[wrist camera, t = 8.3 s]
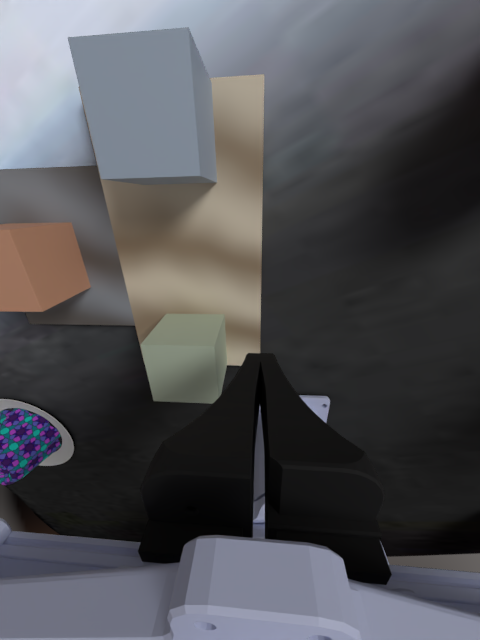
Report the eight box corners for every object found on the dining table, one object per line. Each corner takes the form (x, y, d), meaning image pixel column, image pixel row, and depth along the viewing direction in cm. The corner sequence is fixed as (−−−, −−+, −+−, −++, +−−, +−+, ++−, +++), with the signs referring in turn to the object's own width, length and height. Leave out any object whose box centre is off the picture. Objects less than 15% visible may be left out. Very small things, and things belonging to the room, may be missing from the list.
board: (259, 359, 23) (259, 366, 22) (53, 354, 25) (46, 360, 24) (264, 82, 15) (264, 74, 14) (-54, 102, 16) (-72, 96, 15)
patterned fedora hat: (-27, 382, 28) (-84, 419, 24) (77, 410, 29) (41, 450, 24) (-9, 447, 34) (-53, 487, 29) (78, 469, 34) (49, 511, 30)
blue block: (217, 182, 16) (200, 175, 12) (144, 184, 17) (101, 179, 12) (211, 82, 14) (188, 27, 10) (127, 88, 14) (67, 37, 10)
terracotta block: (91, 287, 20) (42, 311, 16) (34, 286, 21) (-28, 311, 16) (71, 222, 18) (8, 229, 14) (9, 223, 18) (-72, 230, 14)
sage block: (227, 363, 23) (218, 403, 18) (174, 361, 23) (153, 401, 19) (224, 314, 20) (214, 346, 16) (166, 313, 21) (140, 344, 16)
